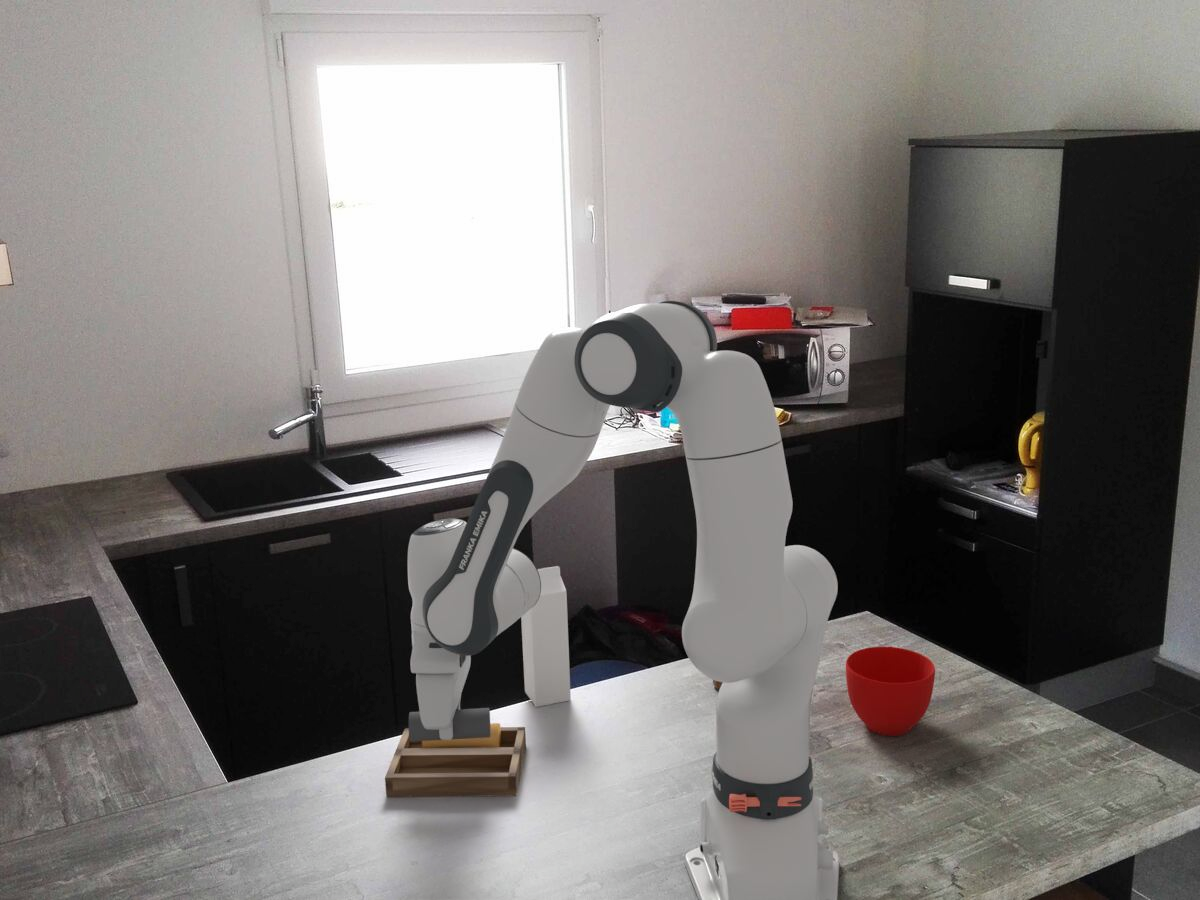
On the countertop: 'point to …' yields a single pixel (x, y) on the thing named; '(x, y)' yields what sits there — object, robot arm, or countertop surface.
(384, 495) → the countertop surface
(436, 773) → the slot rack
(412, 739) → the charcoal rod
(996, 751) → the countertop surface
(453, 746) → the orange rod
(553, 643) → the milk
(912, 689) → the ceramic cup
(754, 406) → the robot arm
